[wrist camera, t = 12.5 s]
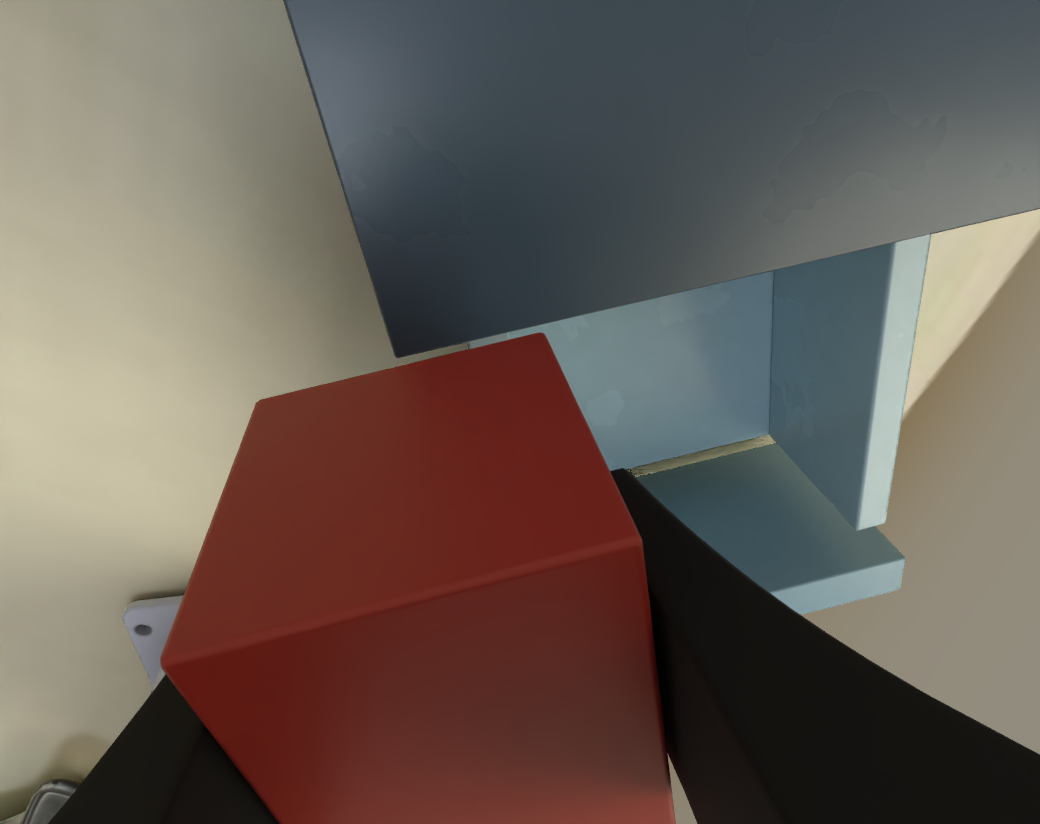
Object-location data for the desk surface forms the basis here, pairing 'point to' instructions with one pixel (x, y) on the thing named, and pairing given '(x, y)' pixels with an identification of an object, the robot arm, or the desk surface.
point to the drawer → (764, 412)
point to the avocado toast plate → (45, 802)
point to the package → (428, 605)
